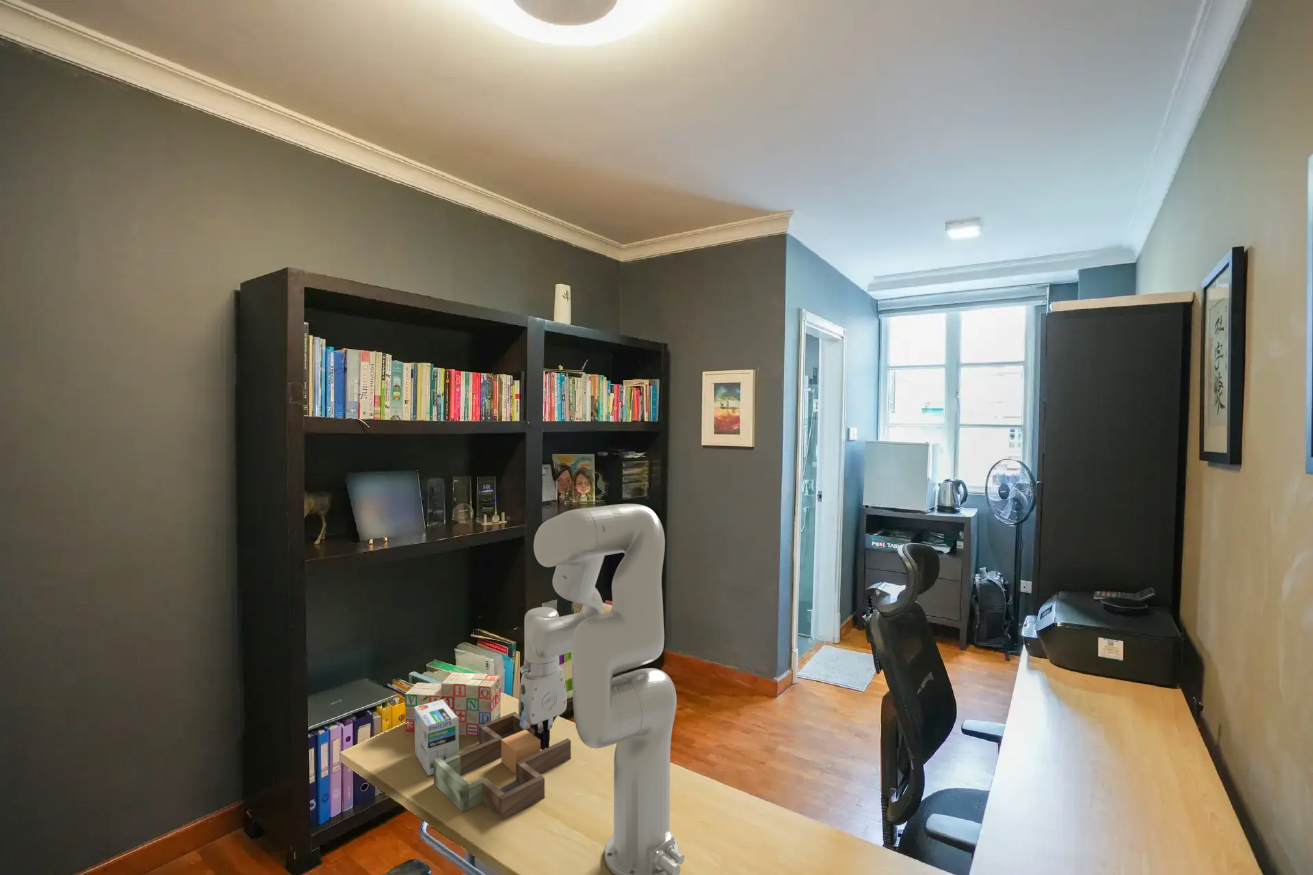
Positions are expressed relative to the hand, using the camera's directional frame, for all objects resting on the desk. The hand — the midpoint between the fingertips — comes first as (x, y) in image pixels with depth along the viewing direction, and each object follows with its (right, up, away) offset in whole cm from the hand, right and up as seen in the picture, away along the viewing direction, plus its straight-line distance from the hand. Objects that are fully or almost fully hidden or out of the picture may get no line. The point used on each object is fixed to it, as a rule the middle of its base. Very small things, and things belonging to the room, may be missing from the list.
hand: (542, 746), depth 133 cm
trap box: (-6, -2, -6) cm, 9 cm away
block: (-4, -2, -4) cm, 6 cm away
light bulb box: (-22, -2, -3) cm, 23 cm away
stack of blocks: (-23, -1, +11) cm, 26 cm away
